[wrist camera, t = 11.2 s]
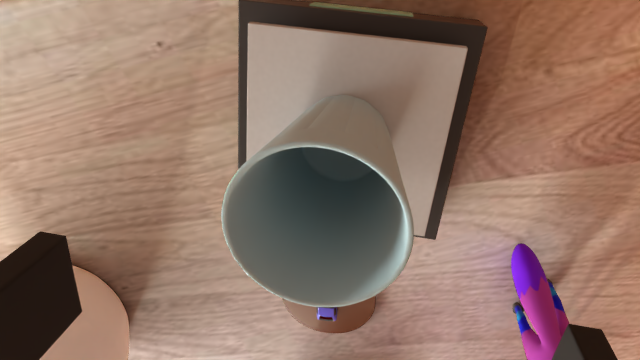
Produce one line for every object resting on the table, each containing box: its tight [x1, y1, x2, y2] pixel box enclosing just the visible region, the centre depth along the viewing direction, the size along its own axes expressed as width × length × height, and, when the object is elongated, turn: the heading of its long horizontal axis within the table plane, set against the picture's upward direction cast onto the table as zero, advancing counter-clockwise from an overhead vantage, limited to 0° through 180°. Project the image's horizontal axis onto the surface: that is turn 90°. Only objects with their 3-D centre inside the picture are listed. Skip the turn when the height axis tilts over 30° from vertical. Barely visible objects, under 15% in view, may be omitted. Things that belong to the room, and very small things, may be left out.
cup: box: [221, 95, 414, 307], centre depth 22 cm, size 8×8×10 cm
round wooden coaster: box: [282, 295, 376, 333], centre depth 37 cm, size 8×8×2 cm
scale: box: [238, 0, 487, 240], centre depth 29 cm, size 14×14×4 cm
